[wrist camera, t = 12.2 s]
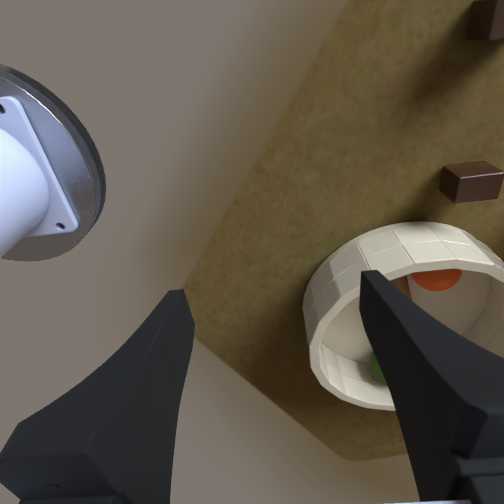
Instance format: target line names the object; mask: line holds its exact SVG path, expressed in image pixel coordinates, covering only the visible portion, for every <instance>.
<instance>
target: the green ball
mask: <svg viewBox="0 0 504 504" xmlns="http://www.w3.org/2000/svg"><path fill="white" fill-rule="evenodd" d="M369 368H370V372H371V374H372V375H373V377H374V378H375V379H376V380H377V381H378V382H379V383H381V384H383V385H386V386H388V385H387V383H386V380H385V378H384V375H383V373H382V371H381V368H380V366H379V364H378V361H377V359H376V357H375V354H374V353H373V354H372V355H371V357H370V360H369Z"/></svg>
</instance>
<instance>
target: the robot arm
mask: <svg viewBox="0 0 504 504" xmlns="http://www.w3.org/2000/svg"><path fill="white" fill-rule="evenodd" d="M0 104H1V105H2V106H3V107H4V108H5V113H4V112H3V111H1V109H0V258H1V257H2V256H3V255H4V254H5V253H6V252H8V251H9V250H10V249H11V248H12V247H13V246H14V245H15V244H17V243H18V242H19V241H20V240H21V239H22V238H26V237H34V236H42V235H51V234H59V233H67V232H73V231H75V230H76V229H77V227H78V222H77V219H76V217H75V215H74V213H73V211H72V209H71V207H70V205H69V203H68V201H67V199H66V196H65V194H64V192H63V190H62V188H61V186H60V184H59V182H58V180H57V178H56V176H55V174H54V171H53V169H52V167H51V165H50V163H49V161H48V159H47V157H46V155H45V153H44V151H43V149H42V146H41V144H40V142H39V140H38V138H37V136H36V134H35V132H34V130H33V128H32V126H31V123H30V121H29V119H28V117H27V115H26V113H25V111H24V109H23V107H22V105H21V103H20V102H19V101H18V100H17V99H16V98H14V97H12V96H5V97H0ZM59 223H62V224H63V225H64V227H62V226H61V225H60V224H59ZM359 311H360V315H361V319H362V322H363V326H364V329H365V333H366V335H367V337H368V340H369V342H370V345H371V347H372V349H373V352H374V354H375V357H376V359H377V361H378V364H379V366H380V368H381V371H382V373H383V375H384V378H385V380H386V383H387V385H388V388H389V391H390V394H391V397H392V400H393V403H394V407H395V410H396V413H397V416H398V420H399V423H400V427H401V430H402V434H403V437H404V441H405V444H406V448H407V451H408V455H409V459H410V462H411V466H412V470H413V473H414V477H415V481H416V485H417V489H418V493H419V497H420V501H421V502H407V503H388V504H504V358H502V357H500V356H498V355H496V354H494V353H492V352H490V351H488V350H486V349H484V348H482V347H481V346H479V345H477V344H475V343H473V342H471V341H470V340H468V339H466V338H465V337H463V336H461V335H459V334H458V333H456V332H455V331H453V330H452V329H450V328H448V327H447V326H445V325H444V324H442V323H441V322H439V321H438V320H436V319H435V318H434V317H432V316H431V315H430V314H428V313H427V312H426V311H424V310H423V309H422V308H420V307H419V306H418V305H417V304H415V303H414V302H413V301H412V300H411V299H409V298H408V297H407V296H406V295H405V294H404V293H402V292H401V291H400V290H399V289H398V288H397V287H396V286H395V285H393V284H392V283H391V282H390V281H389V280H388V279H387V278H386V277H385V276H384V275H383V274H381V273H380V272H379V271H378V270H377V269H376V270H367V271H361V281H360V300H359ZM194 327H195V324H194V321H193V318H192V314H191V311H190V308H189V305H188V302H187V299H186V296H185V293H184V290H183V289H180V290H170V291H168V293H167V294H166V295H165V296H164V298H163V299H162V300H161V301H160V302H159V304H158V305H157V306H156V308H155V309H154V310H153V311H152V313H151V314H150V315H149V316H148V317H147V318H146V320H145V321H144V322H143V324H141V326H140V327H139V328H138V329H137V330H136V331H135V332H134V333H133V335H132V336H131V337H130V338H129V339H128V340H127V341H126V342H125V343H124V344H123V345H122V346H121V347H120V349H119V350H117V351H116V352H115V353H114V354H113V355H112V356H111V357H110V358H109V359H108V360H107V361H106V362H105V363H103V364H102V365H101V366H100V367H99V368H97V369H96V370H95V371H94V372H93V373H91V374H90V375H89V376H88V377H86V378H85V379H84V380H83V381H82V382H80V383H79V384H78V385H76V386H75V387H74V388H72V389H71V390H70V391H68V392H67V393H65V394H64V395H62V396H61V397H59V398H58V399H57V400H55V401H54V402H52V403H51V404H49V405H48V406H46V407H44V408H43V409H41V410H40V411H38V412H36V413H35V414H33V415H31V416H30V417H28V418H27V419H25V420H23V421H22V422H20V423H18V425H17V426H16V428H15V429H14V431H13V433H12V434H11V436H10V438H9V439H8V441H7V443H6V444H5V446H4V448H3V450H2V451H1V453H0V483H1V484H2V485H4V486H5V487H6V488H7V489H8V490H10V491H11V492H12V493H13V494H14V495H16V496H17V497H18V498H19V499H20V502H19V504H170V489H171V477H172V465H173V455H174V446H175V436H176V427H177V420H178V412H179V405H180V400H181V395H182V391H183V387H184V382H185V378H186V374H187V370H188V365H189V361H190V357H191V352H192V347H193V339H194Z"/></svg>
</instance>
